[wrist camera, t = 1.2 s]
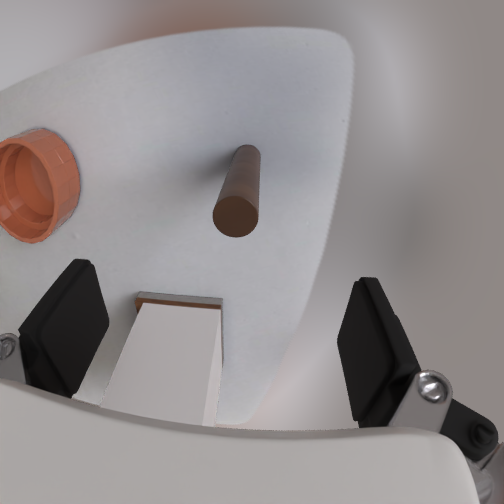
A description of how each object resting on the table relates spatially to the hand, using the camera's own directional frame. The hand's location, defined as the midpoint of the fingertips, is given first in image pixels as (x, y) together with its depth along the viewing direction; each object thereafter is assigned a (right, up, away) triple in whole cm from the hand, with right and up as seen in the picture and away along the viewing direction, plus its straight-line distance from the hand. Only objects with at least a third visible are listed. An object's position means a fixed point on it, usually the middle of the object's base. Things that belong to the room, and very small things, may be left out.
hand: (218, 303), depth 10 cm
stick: (+1, +11, +18) cm, 21 cm away
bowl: (-24, +11, +19) cm, 32 cm away
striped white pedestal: (-8, -8, +29) cm, 32 cm away
